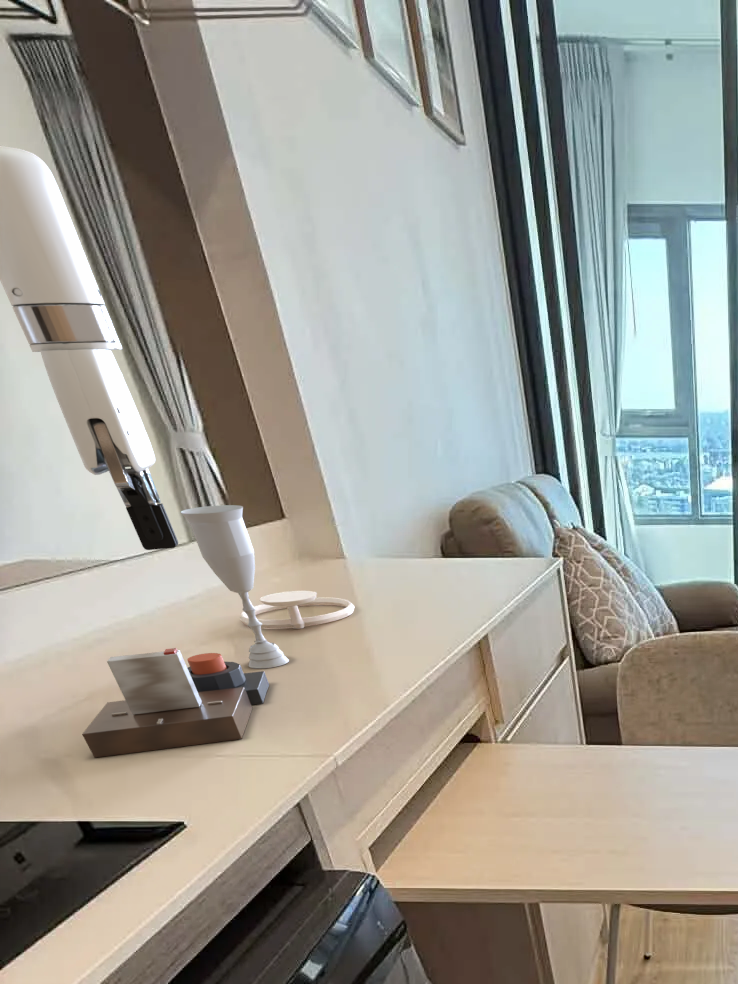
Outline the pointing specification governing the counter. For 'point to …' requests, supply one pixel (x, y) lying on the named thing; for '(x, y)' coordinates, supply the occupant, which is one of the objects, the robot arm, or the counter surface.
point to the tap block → (169, 724)
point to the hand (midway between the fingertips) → (162, 547)
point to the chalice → (233, 567)
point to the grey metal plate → (155, 681)
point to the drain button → (206, 663)
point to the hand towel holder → (292, 602)
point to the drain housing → (234, 681)
